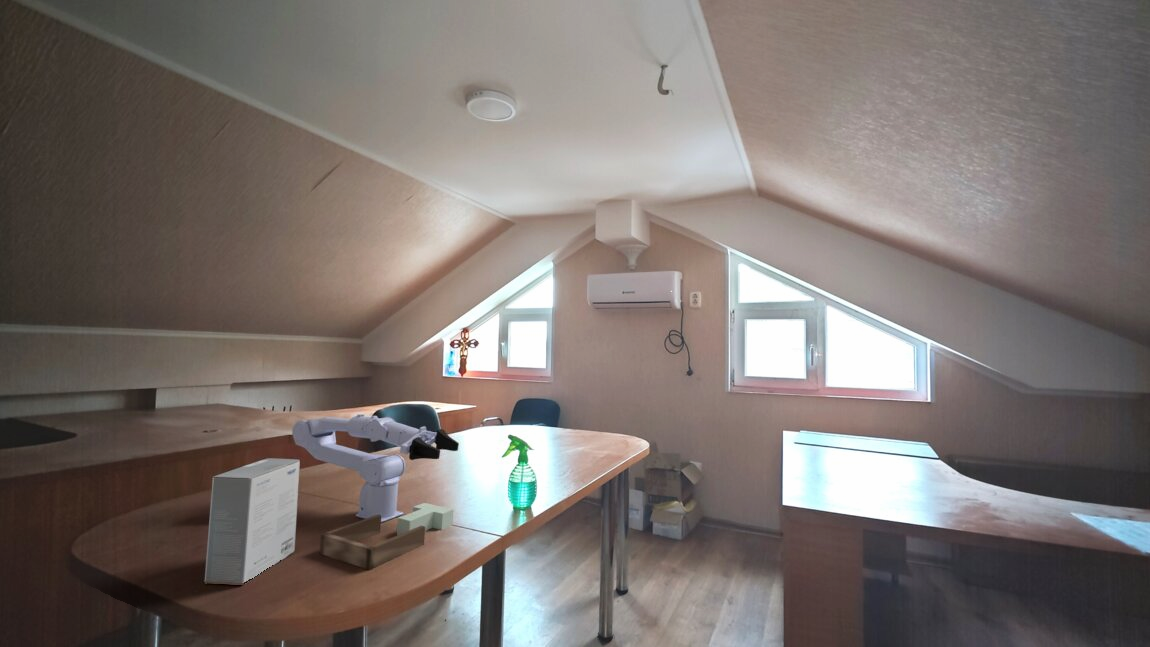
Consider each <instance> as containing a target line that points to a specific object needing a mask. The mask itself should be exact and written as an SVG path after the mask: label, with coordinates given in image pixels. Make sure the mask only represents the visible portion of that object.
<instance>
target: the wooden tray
mask: <svg viewBox="0 0 1150 647" xmlns="http://www.w3.org/2000/svg"><path fill="white" fill-rule="evenodd" d="M381 524H382V522H381V515H375V516H372V517H369V518H366V519H364V518H363V519H362V520H358V521H356V522H353V523H350V524H348V525H344V526H342V527H338V528H336V529H335V528H334V529H333V530H331V531H327V532H324V533H322V534H320V541H319V554H320V555H324V556H325V557H329V558H332V559H336V560H338V561H340V562H341V561H342V562H345V563H348V564H350V565H353V566H357V567H359V568H362V569H365V570H369V571H371V570H373V569H375V568H377V567H379V566H382V565H383V564H385V563H388V562H390V561H392V560H394V559H396V558H398V557H400V556H402V555H404V554H407V553H408V552H411V551H413V550H415V549H417V548H419V547H422V546H423V545H425V534H426V531H425V526H419V527H417V528H414V529H412V530H409V531H407V532H405V533H402V534H400V535H395V536H392V537H391V538H388V539H387V540H384V541H382V542H378V543H376V544H374V545H368V544H365V543H361V542H359V541H361V540H363V539H366V538H369V537H372V536H374V535H376V534H379V533H381V526H382V525H381Z"/></svg>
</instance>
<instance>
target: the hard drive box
mask: <svg viewBox="0 0 1150 647" xmlns="http://www.w3.org/2000/svg"><path fill="white" fill-rule="evenodd" d="M300 462H301V461H300V459H293V458H273V457H271V458H265V459H261V460H258V461H255V462H252V463H249V464H246V465H244V466H241V467H238V468H237V467H236V468H234V469H232V470H229V471H226V472H222V473H220V474H217V475H215V476H212V481H211V482H212V483H211V495H210V509H209V519H208V520H209V521H208V535H207V544H206V545H207V547H206V555H205V556H206V557H205V558H206V559H205V573H204V582H205V581H211V582H222V583H225V582H233V583H244V582H246V581H248V580H249V579H252V578H253V579H255V578H256V577H255V576H257V575H258V574H259V575H260V573H261V572H262V573H264V572H265V571H267V570H268V569H270V568H271V567H273V566H275V565H276V564H277V563H279V562H281V561H282V560H284V559H286V558H287V557H288V556H289V555H292V554H293V553H294V552H295V547H296V534H297V533H296V530H297V515H298V514H297V513H298V497H299V480H300V479H299V478H300V464H301V463H300ZM280 560H281V561H280ZM272 565H273V566H272ZM269 567H270V568H269ZM267 568H268V569H267ZM266 569H267V570H266ZM264 570H265V571H264ZM263 571H264V572H263ZM262 573H261V574H262ZM259 575H258V576H259ZM258 576H257V577H258ZM254 577H255V578H254ZM253 579H252V580H253ZM248 582H249V581H248Z"/></svg>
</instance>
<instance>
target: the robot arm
mask: <svg viewBox="0 0 1150 647" xmlns="http://www.w3.org/2000/svg"><path fill="white" fill-rule="evenodd" d="M291 430H292V431H291V432H292V437H293V440H294V443H295V444H294V445H296V446H300V447H301V448H303V449H305V450H306V451H307V452H308V453H309V454H310V455H311V456H312V457H313V458H314V459H316V460H318V461H321V462H324V463H328V464H331V465H335V466H338V467H342V468H345V469H348V470H352V471H353V472H354V471H355V472H358V473H359V474H358V475H359V477H360V478H362V479H364V480H365V482H364V484H362V486H361V489H360V492H359V500H358V502H359V504H358V513H356V514H355V517H357V518H361V519H363V520H364V519H366V518H369V517H372V516H375V515H381V523H383V522H387V521H389V520H392V519H395V518H398V517H399V516H400V517H401V516H404V511H399V510H397V509H398V508H397V506H398V493H399V492H398V491H399V490H398V489H399V481H401V477H402V475H403V474H405V471H406V461H405V459H404V457H403V456H402V455H400V454H398V453H396V454H391V455H388V454H372V453H369V452H366V451H363V450H362V451H361V450H358V449H354V448H350V447H347V446H344V445H339V444H337V439H336V431H337V432H347V433H348V435H349V436H351V437H355V438H361V439H362V438H363V439H370V442H377V441H383V442H385V443H387V444H391V445H393V446H396V447H399V448H400V449H399V453H401V454H404V455H408V454H409V457H408V458H409V460H411V461H414V460H421V459H425V460H427V459H428V460H439V459H440V457H441V450H445V451H450V452H457V451H458V450H459V446H460V445H459V444H460V443H459V442H457V441H456V440H455V439H453V438H452V437H451V436H450V435H449V434H448V433H447V432H446V430H445V429H442V428H439V429H437V430H436V432H433V431H431V430H427V427H426V426H420V427H419V429H418V428H416V427H412V426H410V425H406V424H403V423H400V422H396V420H395V419H394V418H392V417H390V416H384V417H381V418H379V417H378V415H371V416H365V413H364V414H363V413H359V414H356V415H355V416H352V417H351V418H350V419H347V418H343V417H342V418H341V417H335V416H325V417H321V418H320V417H319V418H312V419H311V418H310V419H306V420H303V419H301V420H297V421H296V422H294V424H293V426H292V429H291ZM433 444H435V446H432V445H433Z"/></svg>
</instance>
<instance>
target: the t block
mask: <svg viewBox="0 0 1150 647" xmlns="http://www.w3.org/2000/svg"><path fill="white" fill-rule="evenodd" d="M453 523H454V509H453V508H449V507H445V506H440V505H436V504H431V503H427V502H423V503H420V504H418V505H415V506H414V505H413V506H412V512H410V513H407V514H403V515H401V516H400V517H399V516H398V517H397V528H396V536H398V535H400V534H402V533H405V532H407V531H409V530H412V529H414V528H417V527H419V526H425V532H426V531H428V530H431V529H436V530H441V531H442V530H444V529H447V528H449V527H451V526H453Z"/></svg>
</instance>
